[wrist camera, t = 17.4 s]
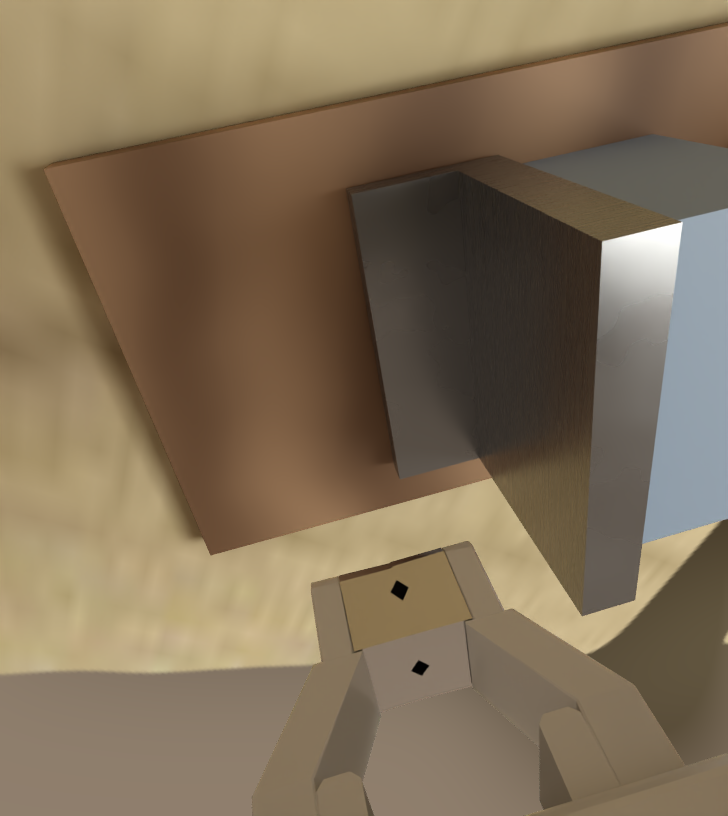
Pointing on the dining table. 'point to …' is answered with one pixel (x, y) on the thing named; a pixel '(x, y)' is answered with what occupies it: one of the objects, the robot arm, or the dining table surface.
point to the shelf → (324, 266)
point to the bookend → (525, 349)
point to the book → (679, 315)
